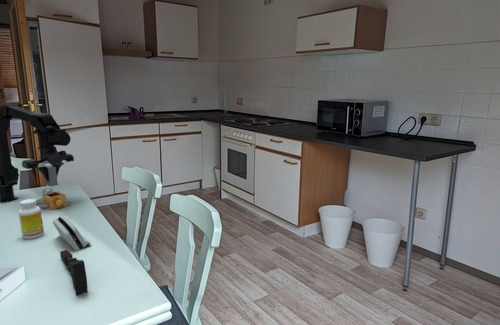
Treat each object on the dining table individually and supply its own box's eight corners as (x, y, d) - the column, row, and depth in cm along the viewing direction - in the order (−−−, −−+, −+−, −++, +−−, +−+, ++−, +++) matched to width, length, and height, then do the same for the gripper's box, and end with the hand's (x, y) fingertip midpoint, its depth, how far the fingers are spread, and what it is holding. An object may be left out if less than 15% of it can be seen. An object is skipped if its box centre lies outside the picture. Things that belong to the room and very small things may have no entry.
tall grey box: (46, 184, 152) (43, 166, 150) (53, 183, 155) (51, 165, 153) (50, 186, 150) (48, 168, 148) (57, 184, 152) (55, 166, 150)
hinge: (92, 246, 117) (78, 222, 113) (78, 255, 114) (63, 231, 110) (75, 230, 129) (61, 208, 124) (62, 238, 126) (48, 216, 122)
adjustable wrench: (72, 271, 111) (89, 293, 91) (62, 274, 109) (77, 297, 89) (67, 245, 110) (84, 261, 90) (58, 248, 109) (72, 265, 88)
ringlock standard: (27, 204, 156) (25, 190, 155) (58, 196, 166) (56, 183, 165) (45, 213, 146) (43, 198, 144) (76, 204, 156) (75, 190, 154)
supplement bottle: (46, 235, 125) (41, 200, 122) (25, 241, 121) (19, 205, 118) (40, 230, 130) (35, 196, 127) (19, 235, 125) (14, 201, 122)
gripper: (30, 150, 136) (36, 189, 140) (78, 143, 150) (82, 178, 154) (18, 147, 143) (24, 184, 146) (65, 140, 157) (69, 174, 161)
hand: (51, 180), depth 152 cm, fingers closed on tall grey box, 3 cm apart
